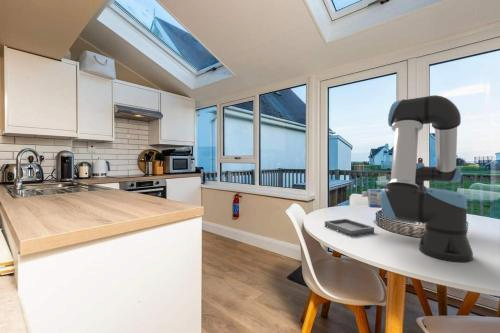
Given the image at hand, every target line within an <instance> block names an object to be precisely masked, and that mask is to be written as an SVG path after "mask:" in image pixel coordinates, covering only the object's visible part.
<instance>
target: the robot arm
mask: <svg viewBox="0 0 500 333" xmlns="http://www.w3.org/2000/svg"><path fill="white" fill-rule="evenodd" d="M389 106H390V107H389V109H388V113H387V114H388V115H387V116H388V117H387V118H388V119H387V123H388V126H389V127H390V128H391V130H392V131H393V132H394V138H393V139H394V140H393V141H394V142H393V150H392V161H391V174H390V180H389V181H388V182H387V183H386V184H385V188H381V189H380V190H381V192H380V193H379V194H377V199H380V202H381V208H380V209H381V212H382V213H383V215H384V216H385V217H386V218H391V219H395V220H405V221H412V222H419V223H420V222H421V223H424V227H425V228H424V231H423V234H422V236H421V238H420V240H419V242H418V243H419V244H418V245H419V246H418V250H419V251H420V252H422V253H423V254H424V255H427V256H430V257H433V258H436V259H439V260H444V261H449V262H455V263H456V262H458V263H466V262H472V261H473V260H474V253H473V249H472V247H471V244H470V242H469V239H468V236H467V213H468V212H467V210H468V208H469V207H468V203H467V201H468V200H467V199H468V198H467V196H466V195H465V194H463V193H461V192H459V191H458V192H457V191H454V190H450V189H445V188H444V189H443V188H437V187H436V188H435V187H427V186H425V182H440V183H459V182H461V180H462V169H461V167H460V166H457V149H458V148H457V146H458V145H457V144H458V128H459V126H460V125H461V124H462V123H461V119H462V117H461V113H460V110H459V108H458V107H457V105H456V104H455V103H454V102H453V101H452V100H450V99H448V98H447V97H444V96H441V95H437V94H436V95H427V96H423V97H422V96H421V97H415V98H414V97H413V98H408V99H399V100H395V101H394V102H392V103H391V104H390V105H389ZM429 124H431V127H432V128H433V129H434V141H435V142H434V145H435V166H426V165H425V163H424V162H417V157H418V144H419V143H418V142H419V132H421V130H423V128H424V125H429ZM361 193H362V194H361V196H362V197H361V198H368V190H365V191H364V190H363V191H362V192H361Z"/></svg>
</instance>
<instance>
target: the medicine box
mask: <svg viewBox="0 0 500 333" xmlns="http://www.w3.org/2000/svg"><path fill="white" fill-rule="evenodd" d="M367 191H368V197H367V206H368V207H369V208H374V209H375V208H376V209H379V208H380V209H382V208H381V202H380V199H377V194H379V193H380V192H381V189H374V188H372V189H371V188H370V189H367Z"/></svg>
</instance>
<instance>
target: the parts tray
mask: <svg viewBox="0 0 500 333" xmlns="http://www.w3.org/2000/svg"><path fill="white" fill-rule="evenodd" d="M324 226H325V227H326V226H328V227H327V228H329V227H330V228H329V229H331V228H333V229H332V230H334V229H335V230H334V231H336V230H338V231H337V232H339V231H340V232H339V233H341V232H342V233H341V234H344V233H345V234H344V235H346V234H348V235H347V236H349V235H350V236H349V237H355V236H361V234H363V235H367V233H369V234H374V233H375V227H374V226H372V225H368V224H364V223H363V222H362V223H361V222H359V221H355V220H351V219H349V218H340V219H332V220H326V221H324ZM373 232H374V233H373Z"/></svg>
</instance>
